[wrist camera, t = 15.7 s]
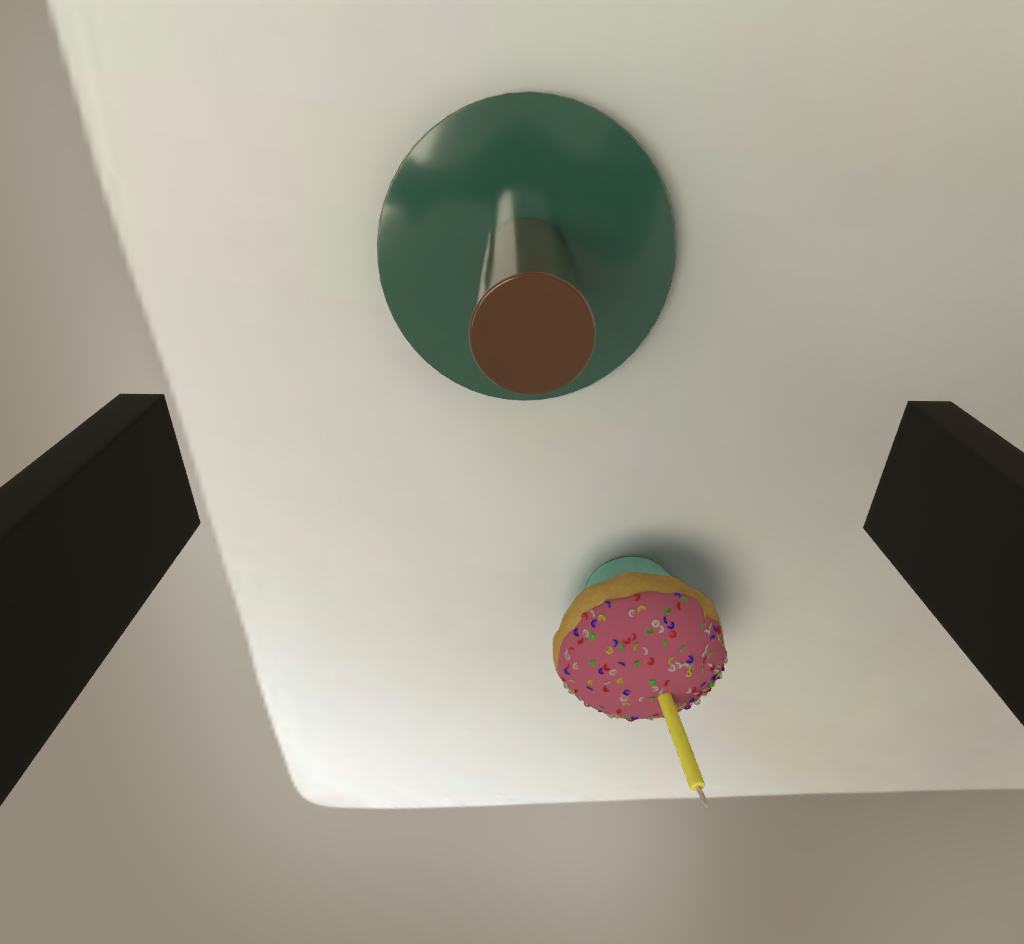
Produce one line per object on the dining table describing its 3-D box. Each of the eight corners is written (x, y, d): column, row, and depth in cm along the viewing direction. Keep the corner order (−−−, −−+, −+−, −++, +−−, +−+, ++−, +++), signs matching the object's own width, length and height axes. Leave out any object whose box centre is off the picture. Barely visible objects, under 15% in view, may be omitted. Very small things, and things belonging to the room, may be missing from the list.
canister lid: (651, 391, 30) (708, 515, 21) (394, 388, 30) (345, 511, 21) (690, 94, 24) (793, 94, 15) (368, 89, 24) (284, 87, 15)
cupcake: (734, 577, 36) (825, 774, 25) (632, 665, 39) (675, 870, 29) (616, 500, 33) (663, 685, 23) (518, 602, 37) (520, 802, 26)
